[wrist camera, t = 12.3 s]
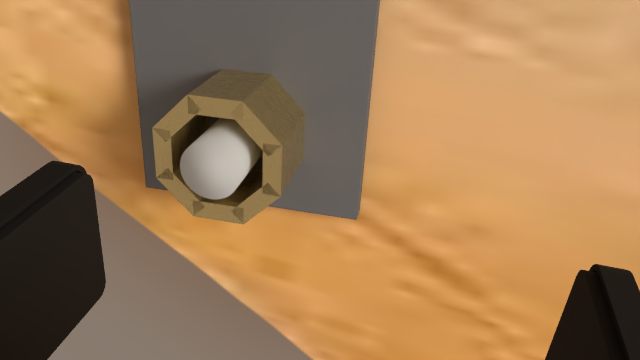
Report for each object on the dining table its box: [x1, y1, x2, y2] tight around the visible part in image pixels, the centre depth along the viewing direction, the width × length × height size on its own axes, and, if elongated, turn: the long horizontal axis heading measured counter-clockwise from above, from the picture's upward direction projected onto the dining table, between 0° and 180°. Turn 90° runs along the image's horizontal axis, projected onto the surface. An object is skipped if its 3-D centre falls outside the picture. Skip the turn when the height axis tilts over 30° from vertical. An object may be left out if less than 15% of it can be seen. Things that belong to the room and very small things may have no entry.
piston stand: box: [129, 0, 380, 220], centre depth 30 cm, size 20×14×7 cm
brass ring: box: [152, 69, 306, 224], centre depth 32 cm, size 7×7×5 cm
